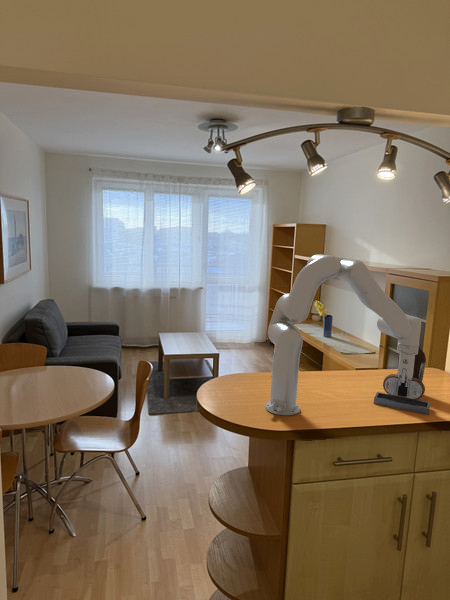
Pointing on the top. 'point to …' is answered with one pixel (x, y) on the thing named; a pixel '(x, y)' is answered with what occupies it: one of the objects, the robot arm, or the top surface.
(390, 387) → the tin
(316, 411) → the top surface
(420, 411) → the tray
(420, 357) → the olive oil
